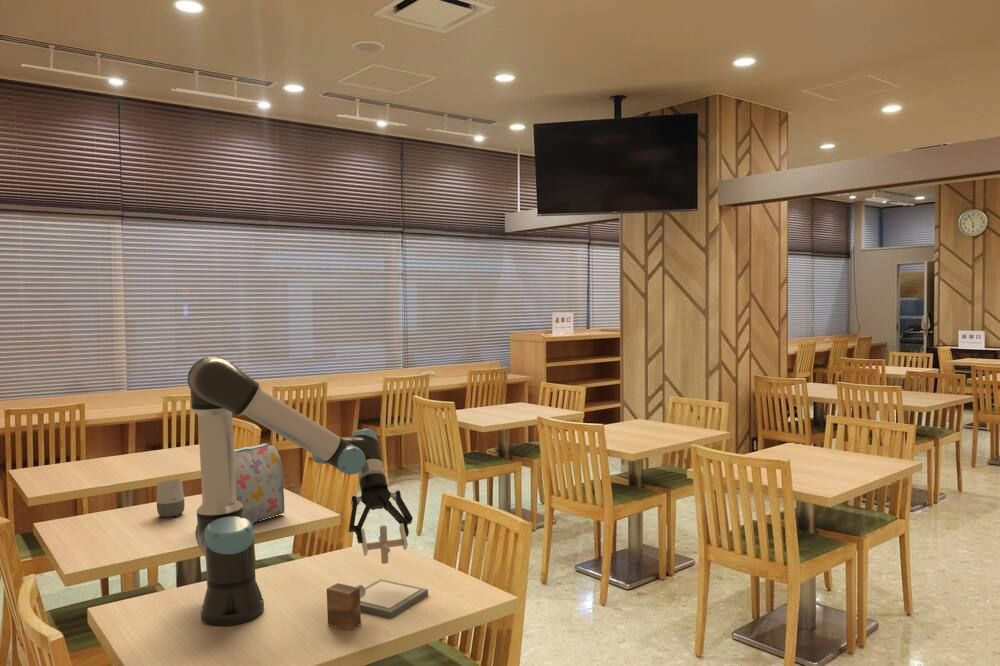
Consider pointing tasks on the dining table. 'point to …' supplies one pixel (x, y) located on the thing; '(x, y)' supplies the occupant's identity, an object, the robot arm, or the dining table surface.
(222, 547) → the robot arm
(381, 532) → the pipe connector
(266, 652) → the dining table surface
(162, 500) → the smart speaker
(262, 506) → the lunch bag
